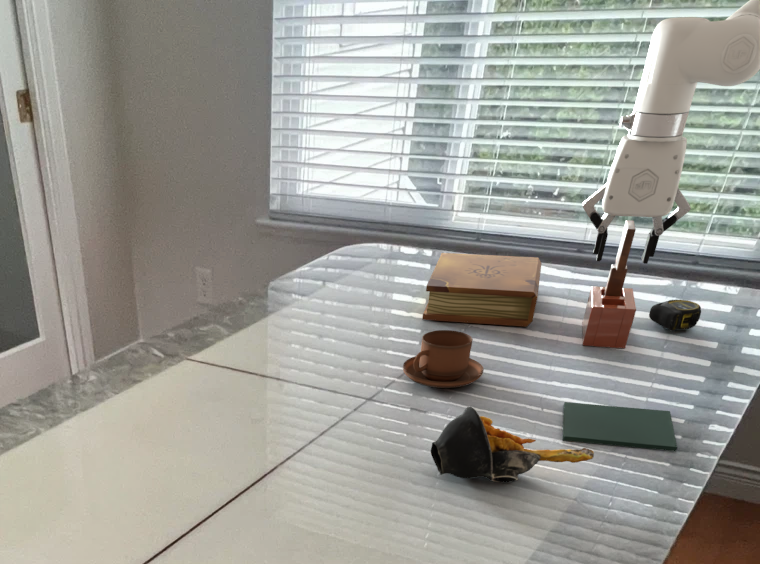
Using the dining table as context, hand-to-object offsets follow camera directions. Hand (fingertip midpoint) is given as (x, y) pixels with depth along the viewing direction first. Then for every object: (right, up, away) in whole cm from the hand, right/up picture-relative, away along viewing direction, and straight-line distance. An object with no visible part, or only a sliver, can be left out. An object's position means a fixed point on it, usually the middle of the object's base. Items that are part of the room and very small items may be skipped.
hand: (621, 259), depth 136 cm
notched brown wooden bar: (0, -8, +7) cm, 11 cm away
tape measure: (+12, -8, +7) cm, 16 cm away
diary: (-17, +2, +20) cm, 26 cm away
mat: (-11, -35, -21) cm, 42 cm away
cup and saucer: (-31, -23, -7) cm, 39 cm away
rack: (0, -10, +6) cm, 11 cm away
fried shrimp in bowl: (-30, -45, -31) cm, 62 cm away
